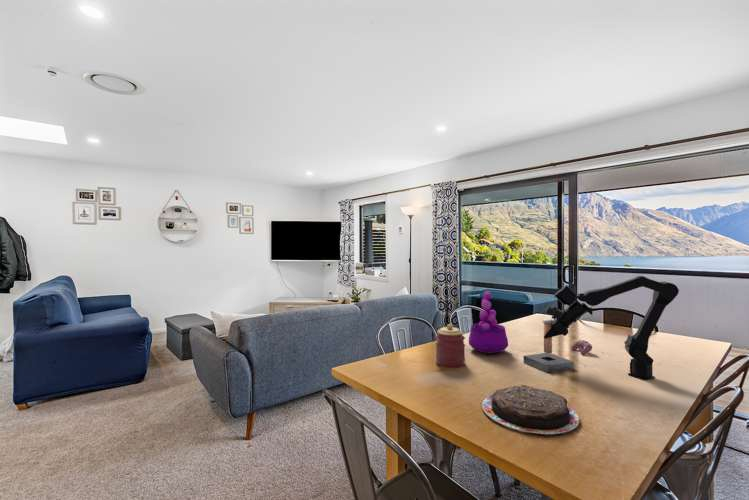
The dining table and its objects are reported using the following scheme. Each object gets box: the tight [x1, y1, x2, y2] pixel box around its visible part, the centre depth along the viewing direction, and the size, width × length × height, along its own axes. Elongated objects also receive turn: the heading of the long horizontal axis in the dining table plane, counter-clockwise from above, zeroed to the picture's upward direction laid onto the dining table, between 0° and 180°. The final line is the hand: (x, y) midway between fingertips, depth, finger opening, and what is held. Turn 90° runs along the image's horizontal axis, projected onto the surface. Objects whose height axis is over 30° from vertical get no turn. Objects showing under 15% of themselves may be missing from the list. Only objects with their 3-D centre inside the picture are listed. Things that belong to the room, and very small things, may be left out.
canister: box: [434, 323, 466, 368], centre depth 158 cm, size 13×13×18 cm
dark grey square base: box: [523, 352, 575, 374], centre depth 153 cm, size 14×14×3 cm
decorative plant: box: [468, 290, 509, 354], centre depth 175 cm, size 19×18×30 cm
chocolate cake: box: [481, 384, 581, 437], centre depth 110 cm, size 28×28×7 cm
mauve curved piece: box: [570, 339, 593, 356], centre depth 172 cm, size 10×5×7 cm, turn 0°
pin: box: [542, 318, 554, 354], centre depth 153 cm, size 4×4×14 cm
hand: (544, 336), depth 154 cm, fingers closed on pin, 3 cm apart
